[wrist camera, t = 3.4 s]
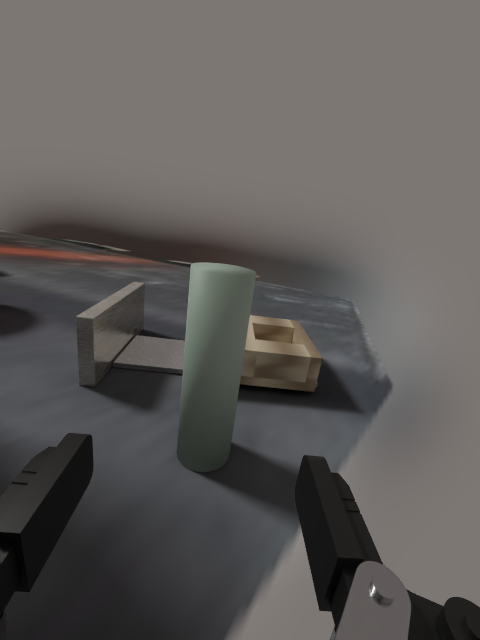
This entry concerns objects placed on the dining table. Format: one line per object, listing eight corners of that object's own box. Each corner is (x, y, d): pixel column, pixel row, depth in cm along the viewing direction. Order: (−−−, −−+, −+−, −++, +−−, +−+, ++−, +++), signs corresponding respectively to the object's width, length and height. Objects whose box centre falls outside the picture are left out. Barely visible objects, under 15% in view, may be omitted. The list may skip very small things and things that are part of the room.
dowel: (172, 469, 20) (186, 269, 16) (181, 430, 24) (195, 260, 20) (229, 474, 20) (258, 278, 16) (229, 434, 24) (253, 267, 20)
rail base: (79, 385, 28) (75, 316, 26) (133, 327, 43) (134, 281, 41) (327, 409, 30) (344, 347, 27) (295, 346, 45) (304, 302, 42)
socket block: (183, 378, 30) (186, 343, 29) (197, 335, 42) (199, 309, 40) (314, 391, 31) (322, 358, 30) (292, 346, 42) (297, 320, 41)
